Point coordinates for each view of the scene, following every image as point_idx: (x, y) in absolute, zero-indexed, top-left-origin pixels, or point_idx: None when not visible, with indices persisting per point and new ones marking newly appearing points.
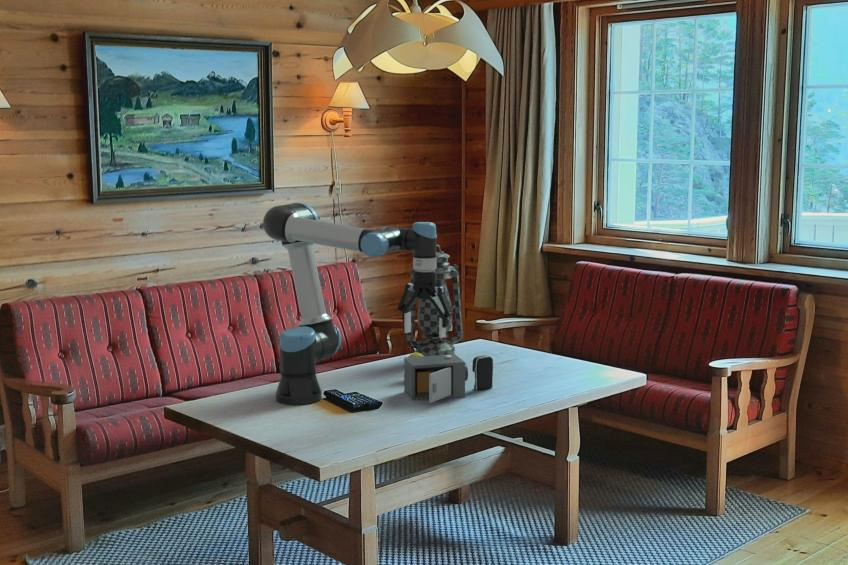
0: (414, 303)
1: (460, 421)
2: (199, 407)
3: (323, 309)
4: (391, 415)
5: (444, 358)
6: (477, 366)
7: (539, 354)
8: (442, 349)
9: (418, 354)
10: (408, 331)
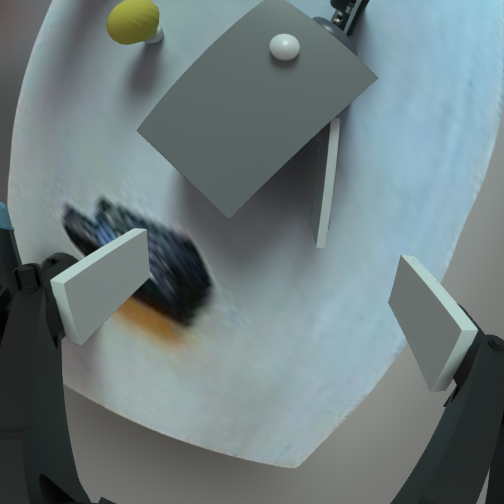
0: (36, 359)
1: None
2: None
3: None
4: (266, 315)
5: (276, 58)
6: (361, 10)
7: None
8: None
9: (129, 14)
10: (145, 259)
